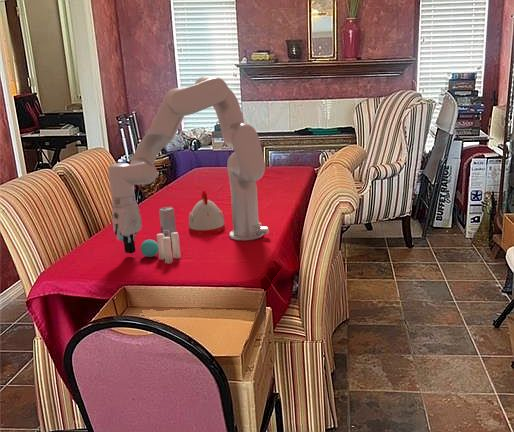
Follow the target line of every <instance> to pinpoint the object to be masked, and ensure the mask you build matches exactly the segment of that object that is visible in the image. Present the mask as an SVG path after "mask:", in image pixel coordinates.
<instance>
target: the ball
mask: <svg viewBox="0 0 514 432" xmlns="http://www.w3.org/2000/svg"><path fill="white" fill-rule="evenodd" d="M140 252H141V253H142V255H143V256H145V257H147V258H153V257H155V256H156V255H157V254H159V251H158V242H157V241H156V240H154V239H152V238H151V239H146V240H144V241H143V242H142V243H141V244H140Z"/></svg>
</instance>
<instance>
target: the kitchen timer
mask: <svg viewBox="0 0 514 432" xmlns="http://www.w3.org/2000/svg"><path fill="white" fill-rule="evenodd" d="M188 215H189V216H188V231H189V233H192V234H194V235H195V234H196V235H211V234H216V233H219V232H222V231H223V230H225V226H226V225H225V220H224V215H223V211H222V210H221V209H220V208H219V206H217V204H215V202H213V201H212V200H210V199H209V198H208V194H207V192H206V191H205V190H203V191H202V193H201V200H199V201H198V202H197V203H196V204H195V205H194V207H193V208H192V210H191V211H190V212H189V214H188Z"/></svg>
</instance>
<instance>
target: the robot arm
mask: <svg viewBox="0 0 514 432" xmlns="http://www.w3.org/2000/svg"><path fill="white" fill-rule="evenodd" d="M211 107H213V108H214V109H213V110H215V114H216V117H217V119H218V124H219V128H220V131H221V136H222V139H223V143H224V144H225V145H226V146H227V147H229V148H230V149H232V150H234V152H232V153H231V154H230V155H229V157H228V160H227V164H226V165H227V166H226V167H227V169H226V170H227V173H228V174H227V175H228V179H229V185H230V198H231V199H230V201H231V214H232V217H231V218H232V230H231V231H230V232H229V234H228V235H229V237H230V239H232V240H235V241H240V242H241V241H244V242H245V241H254V240H257V239H259V238H262V237H263V236H264V234H265V235H266V234H269V232H270V230H269V226H262V222H260V221H259V204H258V203H259V202H258V201H259V200H258V188H257V187H258V186H257V181H260V179H262V177H263V176H264V174H265V170H266V164H265V158H264V154H263V150H262V144H261V141H260V138H259V135H258V132H257V131H256V129H255V128H254V127H253V126H252V125H250V124H248V123H246V122H245V119H244V116H243V113H242V112H243V111H242V109H241V106H240V103H239V100H238V98H237V96H236V95H235V92H233V90H232V89H231V88H229V86H228V85H227V83H226V81H225V80H224V79H222V78H220V77H219V76H218V77H217V76H209V75H207V76H202V77H199V78H198V79H196V80H195V83H194V84H193V85H190V86H186V87H184V88H183V87H182V88H179V87H177V88H171V89H170V90H168V91H167V92H166V93H165V95H164V97H163V100H162V102H161V103H160V106H159V108H158V110H157V113H156V114H155V116H154V119H153V120H152V122H151V125H150V127H149V128H148V129H147V131H146V133H145V135H143V138H142V139H141V141H140V142H139V144H138V145H137V146H136V147H137V148H136V150H135V151H134V153H133V155H132V158H131V160H130V162H129V163H127V162H118V163H112V164H111V165H108V170H107V171H108V180H109V187H110V194H111V201H112V202H111V203H112V217H111V218H112V227H113V233H114V235H115V236H116V240H117V241H122V243H123V246H124V253H125V254H133V253H135V252H136V246H135V245H136V244H135V241H136V235H137V234H138V232H139V231H141V230H142V228H143V224H142V223H143V222H142V217H141V216H142V215H141V211H140V208H139V205H138V203H137V200H136V194H135V185H142V186H143V185H149V184H153V182H155V181H156V179H157V177H158V170H157V168H156V166H155V165H154V163H155V161H156V159H157V157H158V155H159V153H161V151H162V150H163V148H165V147H166V146H167V145H169V144H170V143H172V141H173V140H174V138H175V136H176V134H177V132H178V131H179V129H180V127H181V123H182V122H183V119H184V118H185V116H189V115H194V114H196V113H199V112H202V111H204V110H206V109H209V108H211Z"/></svg>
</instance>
